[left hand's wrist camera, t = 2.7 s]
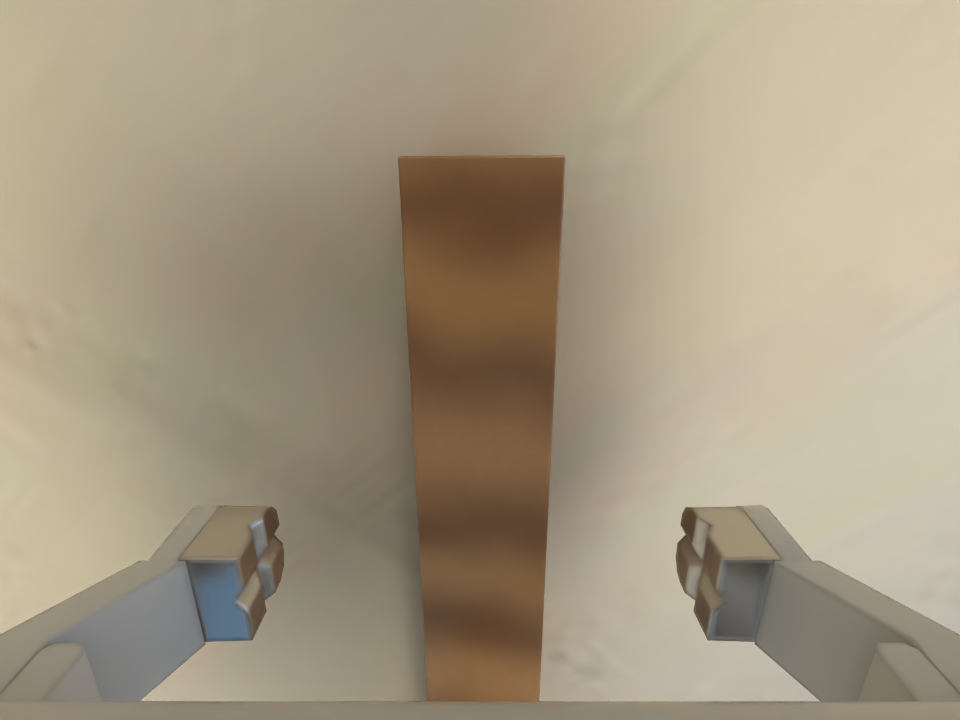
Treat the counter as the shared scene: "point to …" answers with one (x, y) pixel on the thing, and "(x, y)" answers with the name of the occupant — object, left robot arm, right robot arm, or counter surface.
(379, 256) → the counter surface
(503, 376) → the post
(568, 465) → the counter surface
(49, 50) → the counter surface
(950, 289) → the counter surface
